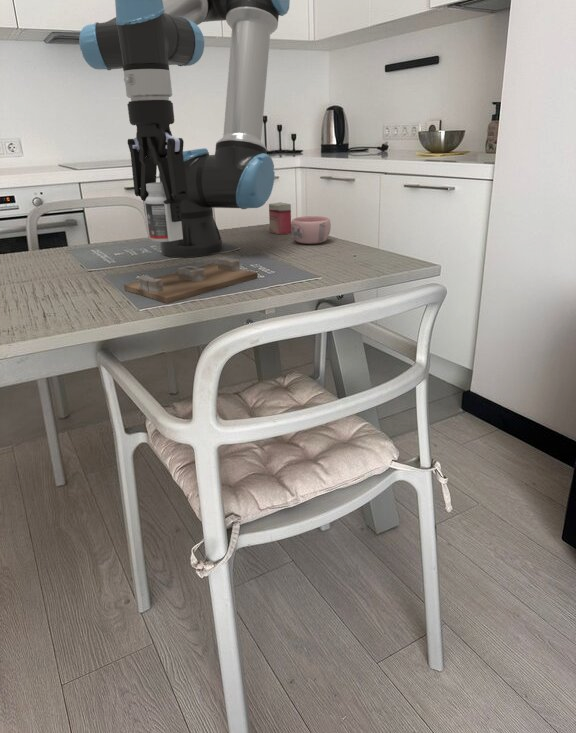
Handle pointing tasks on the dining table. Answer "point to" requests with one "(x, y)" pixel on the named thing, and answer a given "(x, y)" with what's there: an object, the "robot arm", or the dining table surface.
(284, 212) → the small box
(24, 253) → the dining table surface
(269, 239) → the dining table surface
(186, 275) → the board
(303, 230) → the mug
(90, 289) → the dining table surface
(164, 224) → the pill bottle
